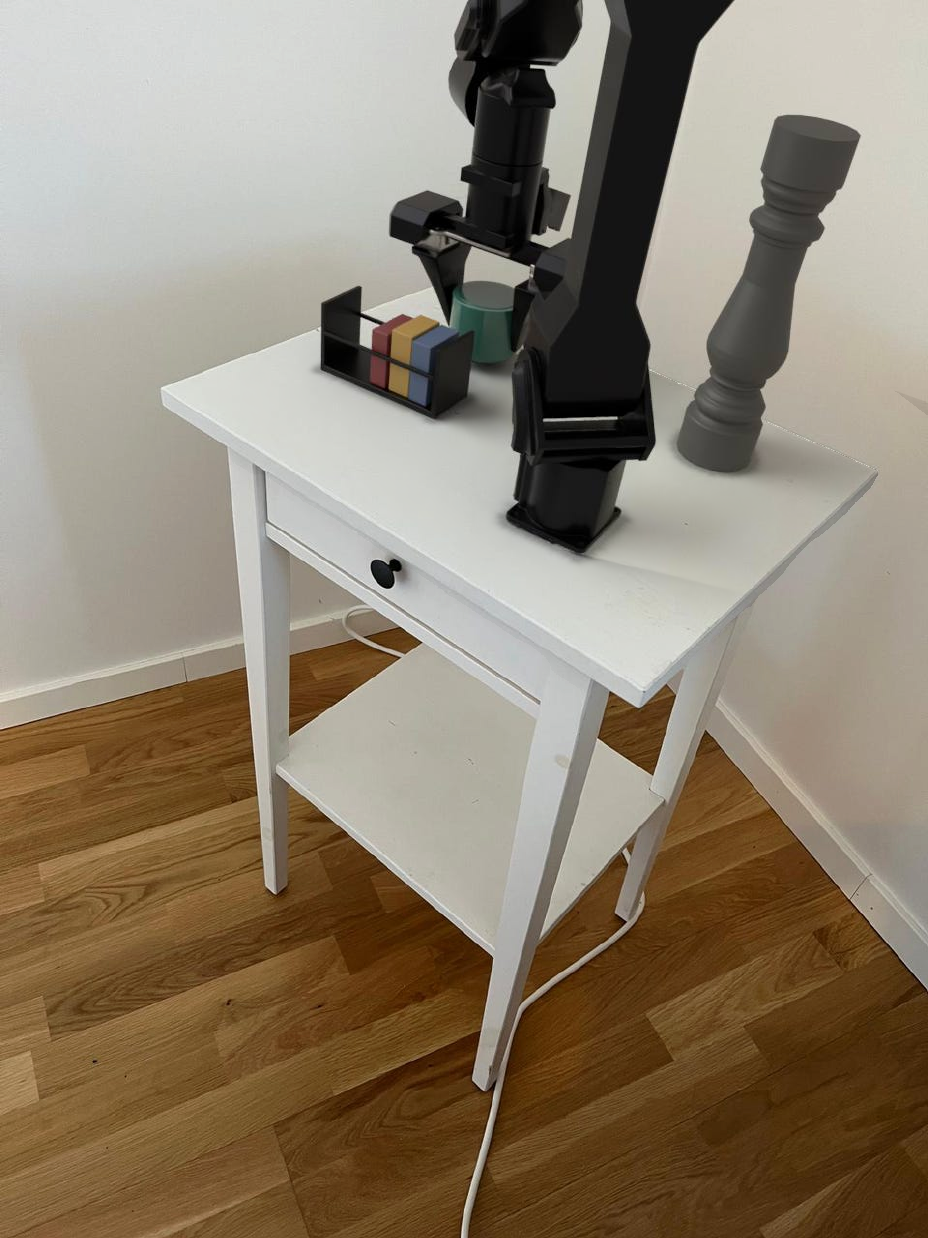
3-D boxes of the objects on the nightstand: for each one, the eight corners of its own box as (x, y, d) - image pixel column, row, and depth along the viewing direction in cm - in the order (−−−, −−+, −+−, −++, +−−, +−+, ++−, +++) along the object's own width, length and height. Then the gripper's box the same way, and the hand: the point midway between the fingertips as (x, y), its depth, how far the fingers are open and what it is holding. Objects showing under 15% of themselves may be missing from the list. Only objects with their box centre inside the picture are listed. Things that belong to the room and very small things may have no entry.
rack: (467, 396, 84) (475, 330, 80) (433, 419, 80) (440, 351, 76) (356, 349, 88) (358, 284, 84) (319, 369, 85) (320, 302, 81)
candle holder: (673, 461, 79) (770, 130, 63) (679, 425, 84) (771, 107, 67) (749, 478, 79) (867, 148, 62) (751, 440, 83) (862, 124, 67)
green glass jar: (530, 348, 90) (539, 295, 86) (493, 372, 85) (501, 318, 82) (472, 326, 92) (478, 273, 89) (433, 348, 88) (438, 294, 84)
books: (453, 388, 84) (460, 329, 80) (425, 406, 81) (431, 345, 77) (398, 365, 86) (402, 306, 82) (369, 382, 83) (372, 322, 79)
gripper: (655, 165, 80) (615, 343, 90) (465, 108, 86) (448, 280, 97) (592, 196, 72) (557, 386, 83) (389, 131, 79) (380, 315, 89)
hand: (484, 338), depth 88 cm, fingers closed on green glass jar, 6 cm apart
